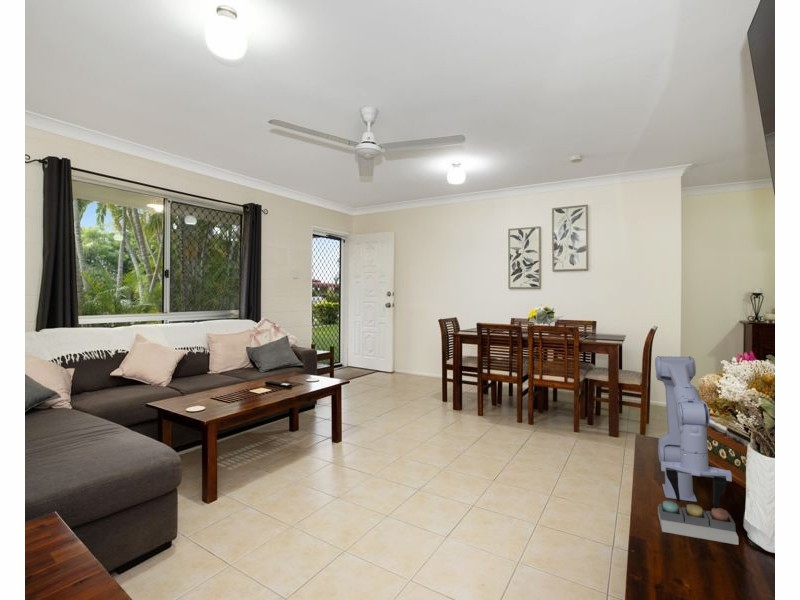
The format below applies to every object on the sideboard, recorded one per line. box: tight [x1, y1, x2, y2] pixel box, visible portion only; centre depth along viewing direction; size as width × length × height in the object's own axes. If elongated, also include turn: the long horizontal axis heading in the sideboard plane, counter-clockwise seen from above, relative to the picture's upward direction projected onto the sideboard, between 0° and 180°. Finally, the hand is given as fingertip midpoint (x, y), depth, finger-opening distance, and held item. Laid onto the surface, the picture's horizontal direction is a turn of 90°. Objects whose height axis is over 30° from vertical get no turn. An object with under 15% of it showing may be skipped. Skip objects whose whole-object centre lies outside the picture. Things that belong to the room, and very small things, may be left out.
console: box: [657, 503, 739, 545], centre depth 111 cm, size 10×16×4 cm, turn 64°
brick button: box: [711, 507, 729, 522], centre depth 109 cm, size 3×3×2 cm
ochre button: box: [686, 503, 703, 518], centre depth 111 cm, size 3×3×2 cm
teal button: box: [662, 500, 679, 514], centre depth 114 cm, size 3×3×2 cm
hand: (696, 503), depth 105 cm, fingers open, 7 cm apart
